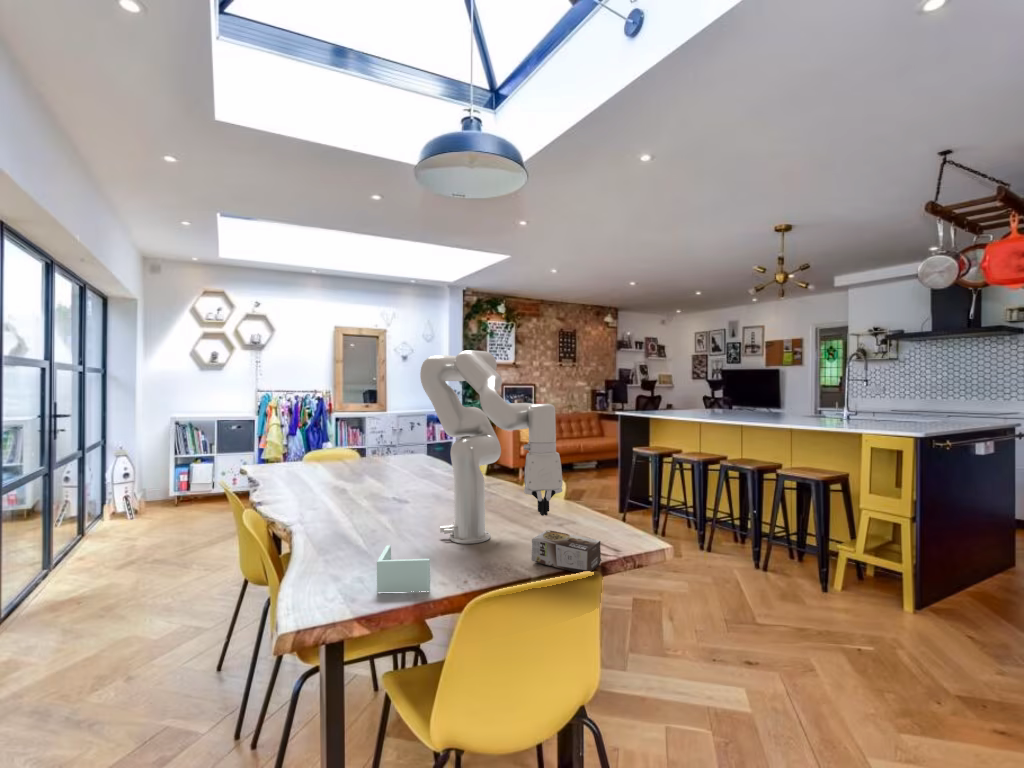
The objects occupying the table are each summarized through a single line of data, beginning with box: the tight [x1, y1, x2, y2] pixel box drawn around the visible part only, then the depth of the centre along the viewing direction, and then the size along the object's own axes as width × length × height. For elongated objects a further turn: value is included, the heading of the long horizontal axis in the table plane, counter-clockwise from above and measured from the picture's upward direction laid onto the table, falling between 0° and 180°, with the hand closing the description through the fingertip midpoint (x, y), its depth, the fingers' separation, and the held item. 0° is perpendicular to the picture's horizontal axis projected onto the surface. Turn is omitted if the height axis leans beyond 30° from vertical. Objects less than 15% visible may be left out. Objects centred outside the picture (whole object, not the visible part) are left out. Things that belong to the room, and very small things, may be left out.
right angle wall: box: [376, 544, 431, 593], centre depth 122 cm, size 12×12×8 cm
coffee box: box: [530, 529, 602, 573], centre depth 134 cm, size 9×6×16 cm
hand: (543, 514), depth 140 cm, fingers closed
